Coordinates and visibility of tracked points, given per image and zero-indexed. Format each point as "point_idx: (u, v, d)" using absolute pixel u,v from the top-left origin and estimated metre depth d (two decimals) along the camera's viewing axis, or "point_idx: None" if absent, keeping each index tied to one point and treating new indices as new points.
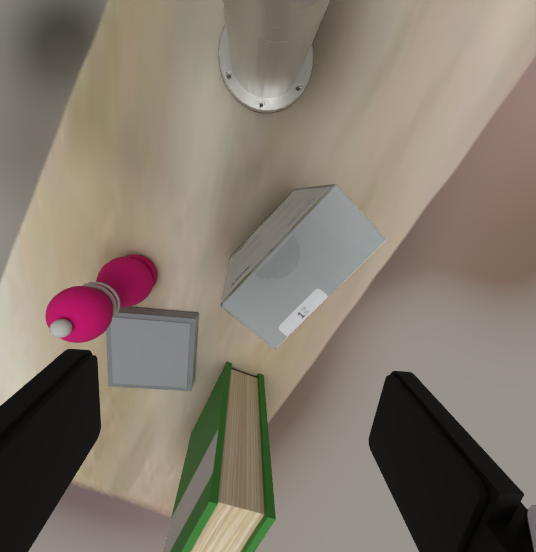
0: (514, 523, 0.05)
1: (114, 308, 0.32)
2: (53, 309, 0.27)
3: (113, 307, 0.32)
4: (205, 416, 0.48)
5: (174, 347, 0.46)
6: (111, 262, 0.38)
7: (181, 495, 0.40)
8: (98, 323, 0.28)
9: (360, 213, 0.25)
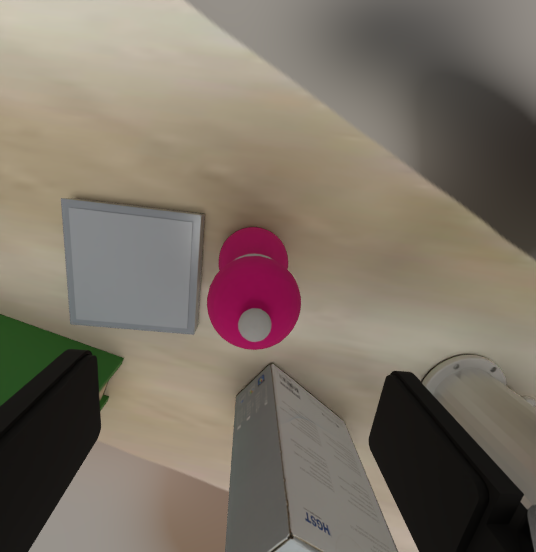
0: (514, 523, 0.05)
1: None
2: (280, 297, 0.16)
3: None
4: (27, 354, 0.30)
5: (146, 306, 0.31)
6: (286, 255, 0.27)
7: None
8: (247, 348, 0.17)
9: None
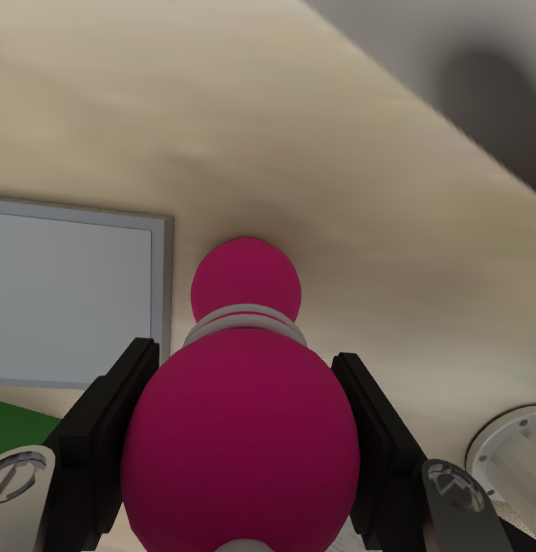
0: (416, 476, 0.06)
1: None
2: (320, 486, 0.05)
3: None
4: None
5: (86, 357, 0.21)
6: (298, 285, 0.17)
7: None
8: None
9: None
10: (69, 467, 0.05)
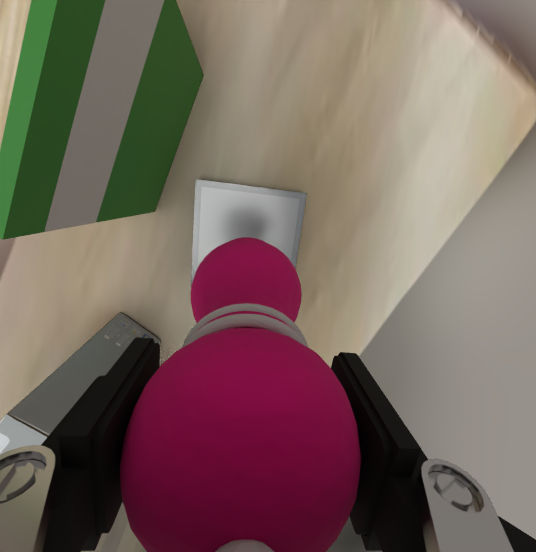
0: (416, 476, 0.06)
1: None
2: (321, 486, 0.05)
3: None
4: (166, 142, 0.31)
5: None
6: (299, 285, 0.17)
7: (155, 46, 0.20)
8: None
9: None
10: (69, 467, 0.05)
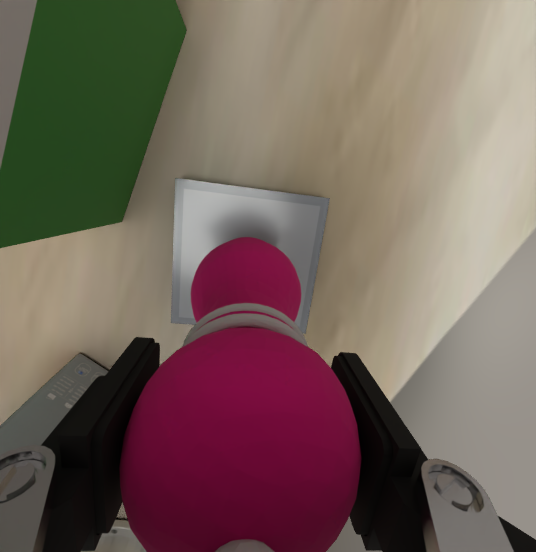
0: (416, 476, 0.06)
1: None
2: (321, 485, 0.05)
3: None
4: (130, 124, 0.21)
5: None
6: (299, 285, 0.17)
7: None
8: None
9: None
10: (69, 467, 0.05)
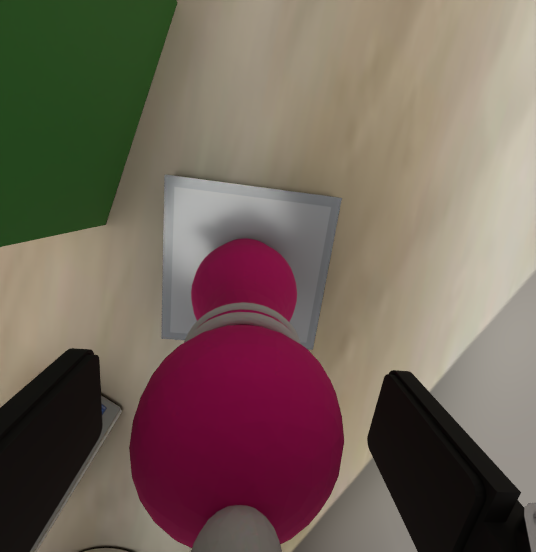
0: (511, 521, 0.05)
1: None
2: (305, 461, 0.06)
3: None
4: (109, 110, 0.18)
5: None
6: (294, 285, 0.18)
7: None
8: None
9: None
10: None
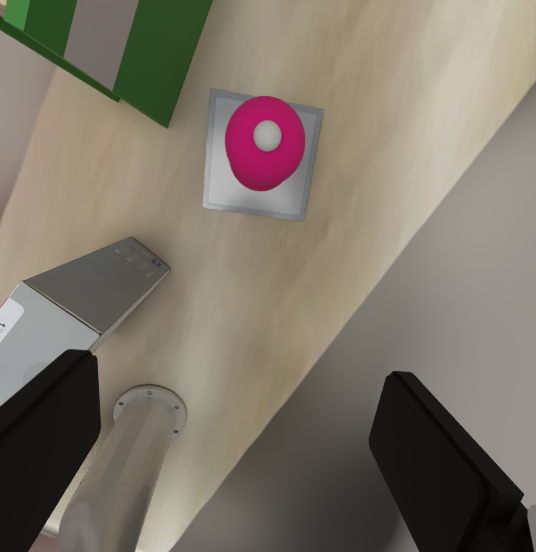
0: (514, 523, 0.05)
1: None
2: (289, 121, 0.18)
3: None
4: (182, 41, 0.30)
5: (229, 168, 0.36)
6: None
7: None
8: (259, 178, 0.20)
9: None
10: None
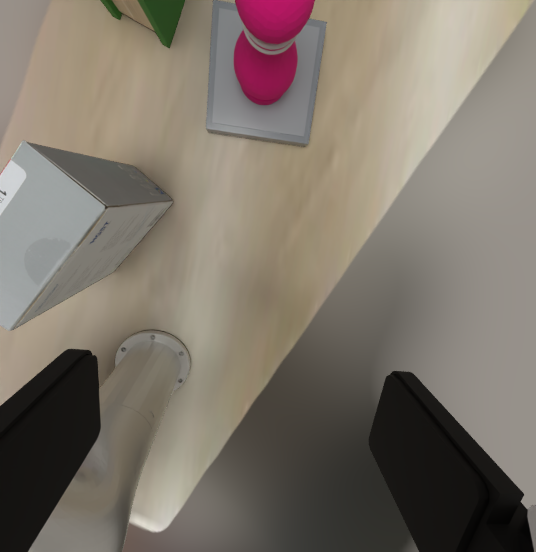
0: (514, 523, 0.05)
1: (266, 45, 0.23)
2: None
3: (268, 44, 0.23)
4: None
5: (232, 85, 0.35)
6: None
7: None
8: (270, 20, 0.19)
9: None
10: None
